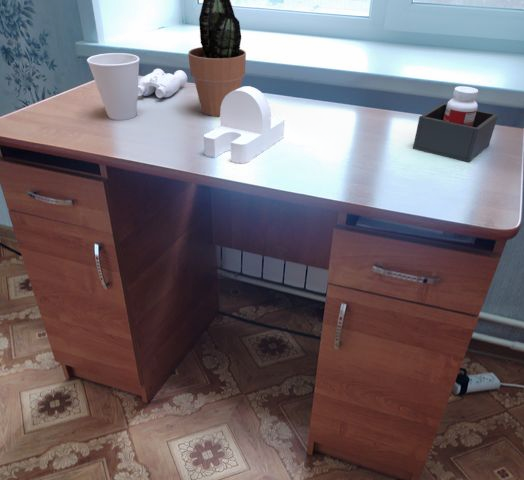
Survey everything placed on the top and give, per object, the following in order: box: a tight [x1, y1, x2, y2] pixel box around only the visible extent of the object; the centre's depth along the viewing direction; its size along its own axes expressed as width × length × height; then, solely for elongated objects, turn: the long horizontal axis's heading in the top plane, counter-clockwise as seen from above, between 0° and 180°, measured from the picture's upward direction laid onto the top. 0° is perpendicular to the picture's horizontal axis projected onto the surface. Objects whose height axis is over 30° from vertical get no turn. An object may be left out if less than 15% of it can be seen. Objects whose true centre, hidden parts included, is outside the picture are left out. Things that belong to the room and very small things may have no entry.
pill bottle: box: [443, 85, 479, 127], centre depth 107 cm, size 6×6×11 cm
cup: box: [86, 52, 141, 121], centre depth 120 cm, size 12×12×12 cm
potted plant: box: [187, 0, 247, 117], centre depth 120 cm, size 14×14×25 cm
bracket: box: [203, 85, 285, 165], centre depth 106 cm, size 19×10×11 cm, turn 152°
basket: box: [412, 102, 499, 163], centre depth 109 cm, size 13×13×7 cm
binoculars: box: [137, 68, 188, 99], centre depth 138 cm, size 10×16×5 cm, turn 168°
